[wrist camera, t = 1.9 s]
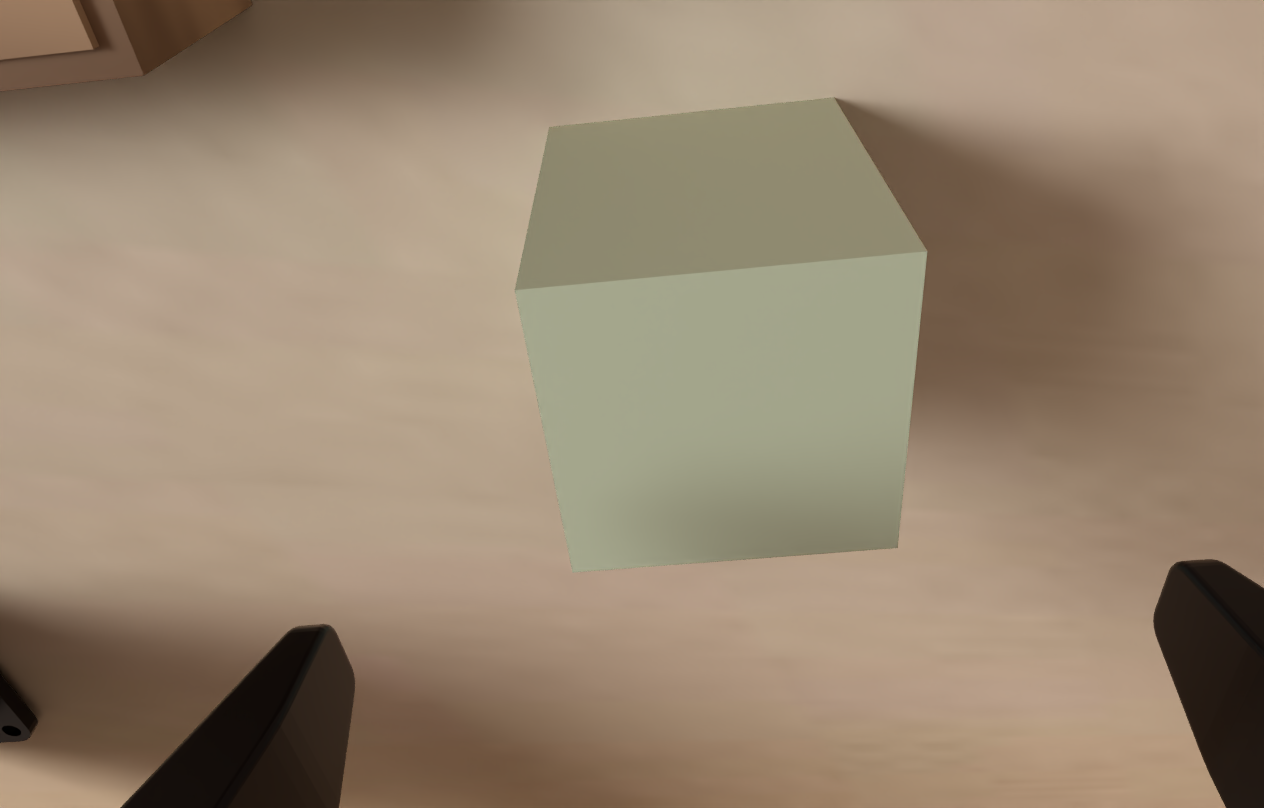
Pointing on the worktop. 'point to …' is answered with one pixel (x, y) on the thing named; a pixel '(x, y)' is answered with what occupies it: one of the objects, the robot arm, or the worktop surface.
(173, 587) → the worktop surface
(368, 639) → the worktop surface
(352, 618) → the worktop surface
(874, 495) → the sage block
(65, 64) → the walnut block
